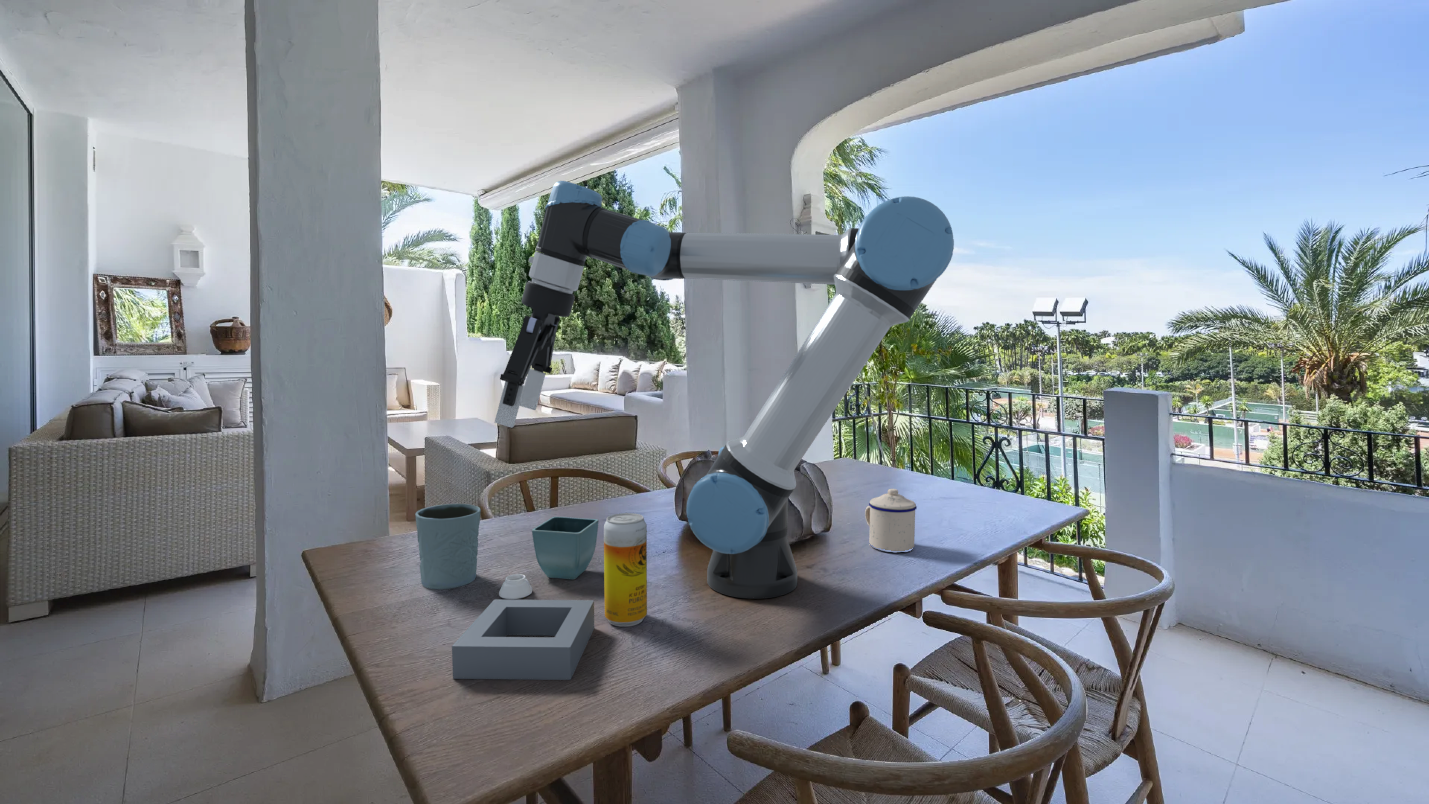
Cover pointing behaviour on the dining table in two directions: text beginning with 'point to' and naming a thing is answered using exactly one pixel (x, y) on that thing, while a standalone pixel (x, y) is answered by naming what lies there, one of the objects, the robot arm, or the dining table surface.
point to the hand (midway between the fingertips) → (516, 415)
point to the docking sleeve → (525, 640)
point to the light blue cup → (448, 544)
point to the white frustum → (515, 587)
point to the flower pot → (565, 545)
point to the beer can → (625, 569)
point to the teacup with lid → (891, 521)
